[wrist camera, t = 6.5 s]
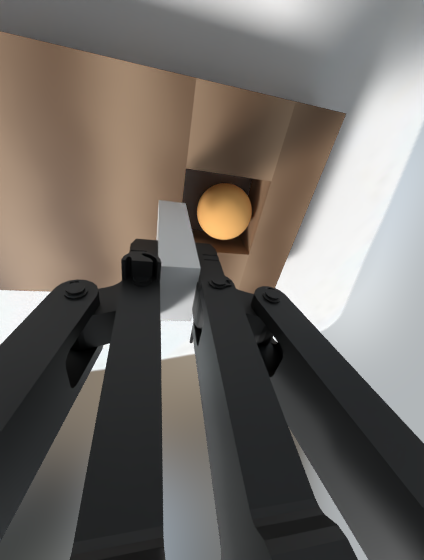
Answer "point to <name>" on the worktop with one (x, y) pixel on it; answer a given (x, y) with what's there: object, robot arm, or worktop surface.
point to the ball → (224, 211)
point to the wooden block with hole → (140, 163)
